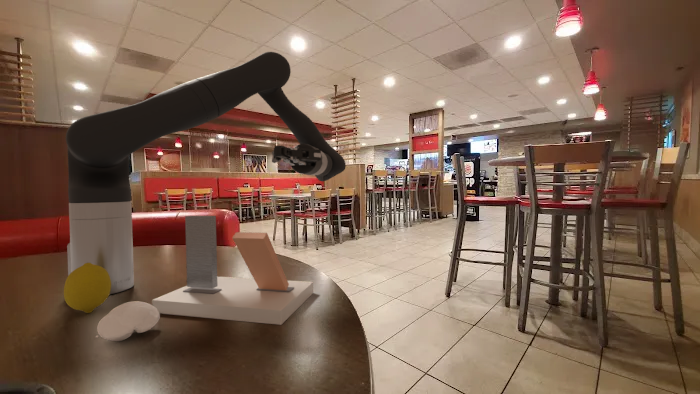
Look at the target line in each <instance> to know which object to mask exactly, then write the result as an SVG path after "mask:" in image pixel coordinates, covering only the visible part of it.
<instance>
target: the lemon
mask: <svg viewBox="0 0 700 394" xmlns="http://www.w3.org/2000/svg"><path fill="white" fill-rule="evenodd" d="M110 290H111V279H110V276H109V274H108V272H107V271H106V270H105V269H104V268H103V267H101V266H98V265H94V264H91V263H85V264H84V265H83V266H81V267H79V268H77V269H75V270H74V271H73V272H71V273H70V274H69V276H67V277H66V279H65V282H64V286H63V297H64V301H65V303H66V304H67V306H69V307H70V308H71V309H73V310H76V311H81V312H84V313H85V314H91V313H93V312H94V310H95V309H96V308H98V307H100V306H101V305H103V304H104V303H105V302H106V301H107V300H108V298H109V296H110V295H111V294H110Z"/></svg>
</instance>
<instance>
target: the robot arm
mask: <svg viewBox="0 0 700 394" xmlns="http://www.w3.org/2000/svg"><path fill="white" fill-rule="evenodd" d="M290 76H291V65H290V63H289V61H288V59H287V58H286V57H284V55H282V54H280V53H279V52H276V51H266V52H262V53H261V54H259V55H257V56H256V57H254V58H251V59H250V60H248V61H246V62H244V63H242V64H240V65H237V66H235V67H231V68H227V69H224V70H220V71H218V72H214V73H210V74H208V75H207V74H206V75H204V76H201V77H197V78H193V79H191V80H189V81H186V82H183V83H181V84H177V85H176V86H174V87H171V88H168V89H166V90H164V91H161V92H158V93H157V94H155V95H153V96H151V97H149V98H146V99H145V100H143V101H139V102H137V103H135V104H134V103H133V104H131V105H127V106H123V107H120V108H116V109H111V110H107V111H102V112H99V113H94V114H90V115H86V116H83V117H81V118H78V119H77V120H75V121H74V122H72V123H71V125H70V126H69V127H68V129H67V131H66V134H65V142H66V145H67V148H66V149H67V167H68V168H67V169H68V171H67V172H68V182H67V183H68V187H67V188H68V189H67V194H68V219H69V243H67V246H66V248H67V250H66V251H67V252H66V253H67V275H68V276H69V274H70V273H71V272H73V271H74V270H75V269H77V268H79V267H81V266H83V265H84V264H85V263H91V264H94V265H98V266H101V267H103V268H104V269H105V270H106V271H107V272H108V274H109V276H110V279H111V290H110V294H109V295H112V294H116V293H120V292H124V291H127V290H129V289H131V288H133V287H134V286H135V285H134V284H135V274H134V245H133V244H134V243H133V241H134V240H133V238H134V236H133V215H132V214H133V212H132V208H133V207H132V187H131V181H130V162H129V160H130V159H129V157H130V155H132V154H133V153H135V152H136V151H138V150H140V149H142V148H144V147H145V146H147V145H149V144H150V143H152V142H154V141H156V140H158V139H160V138H162V137H165V136H168V135H171V134H175V133H178V132H179V133H180V132H184V131H187V130H191V129H193V128H197V127H200V126H201V125H204V124H206V123H209V122H210V121H212V120H215V119H218V117H221V116H224V115H225V114H226V113H228V112H230V111H231V110H233V109H235V108H236V107H237V106H239V105H241V104H242V103H244V102H245V101H246V100H247V99H249V98H251V97H252V96H254V95H257V94H258V95H259V96H260V97H261V99H263V100H264V101H265V104H267V105H268V106H269V107H270V109H272V110H273V112H274V113H275V114H276V115H277V116H278V117H279V118H280V119H281V121H282V122H283V123H284V124H285V125H286V127H287V128H288V129H289V131H290V132H291V133H292V134H293V136H294V137H295V139H296V140H297V142H298V143H299V144H297V145H295V146H294V147H292V146H290V147H287V146H284V145H275V146H274V147H273V150H272V151H271V163H273V164H276V163H280V162H281V161H282V162H283V163H285V164H288V165H289V166H290V167H291V168H292V170H293V171H294V172H296V173H298V174H302V175H307V176H314V177H315V178H316V179H317V180H318V181H319V182H327V181H329V180H330V179H332V178H334V177H336V176H338V175H339V174H341V173H342V172H344V171H346V166H347V165H346V160H345V159H344V157H343V156H342V155H341V154H340V153H339V152H338V151H337V150H335V149H334V148H333V147H332V146H331V145H330V144H329V143H328V142H327V141H326V139H325V138H324V136H323V134H322V133H321V132H320V129H318V127H317V126H316V124H315V123H314V122H313V120H312V119H310V117H309V116H308V115H307V114H305V113H304V112H303V111H301V110H300V109H299V108H298V107H296V106H295V105H294V104H293V103H292V102H291V100H290V99H289V98H288V97H287V96H286V94H285V93H284V90H283V89H282V88H283V87H284V86H285V85H286V84H287V83H288V81H289V79H290V78H291V77H290ZM68 276H67V277H68Z"/></svg>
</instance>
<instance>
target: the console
mask: <svg viewBox="0 0 700 394" xmlns="http://www.w3.org/2000/svg"><path fill="white" fill-rule="evenodd" d="M287 281H288V283H289V285H288V288H287V290H273V289H259V287H258V285H257V284H256V282H255V280H254V278H253V277H252V278H251V277H248V278H247V277H235V276H233V277H230V276H218V275H217V287H215V288H199V287H187V285H185V286H181V287H180V288H177V289H175V290H173V291H170V292H168V293H165V294H163V295H161V296H159V297H155V298H153V299H152V300H151V305H152V306H154V307H155V308H156V309H157V310H158V312H159V314H161V315H162V314H163V315H174V316H185V317H195V318H205V319H215V320H226V321H227V320H228V321H239V322H248V323H249V322H250V323H260V324H268V325H269V324H270V325H271V324H272V325H278V326H281V325H283V324H284V323H285V322H286V320H288V319H289V318H290V317H291V316H292V315H293V314H294V313H295V312H296V311H297V310H298V309H299V308H300V307H301V306H302V305H303V304H304V303H305V302H306V301H307V300H308V299H309V298H310V296H312V295H313V294H314V282H313V281H304V280H302V281H301V280H288V279H287Z"/></svg>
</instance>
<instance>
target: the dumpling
mask: <svg viewBox="0 0 700 394" xmlns="http://www.w3.org/2000/svg"><path fill="white" fill-rule="evenodd" d="M160 318H161V313H159V312H158V310H157V309H156V308H155V307H154V306H152V304H151V303H149V302H148V303H147V302H144V301H138V300H136V301H133V300H132V301H128V302H123V303H121V304H119V305H117V306H116V307H114V308H112V309H111V310H110V311H109V312H108V313H107V314H106V315H104V316H103V317H102V318H101V319H100V320H99V322H98V323H97V327H96V331H97V333H98V335H96V336H95V338H98V337H101V338H102V339H104V340H107V341H113V342H123V341H124V340H127V339H128V338H130V337H131V336H132V334H133V333H135V332H136V333H137V334H141V333H146V332H148V331H149V330H151V329H153V328H154V326H155V325H157V323H158V322H159V321H160Z"/></svg>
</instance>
